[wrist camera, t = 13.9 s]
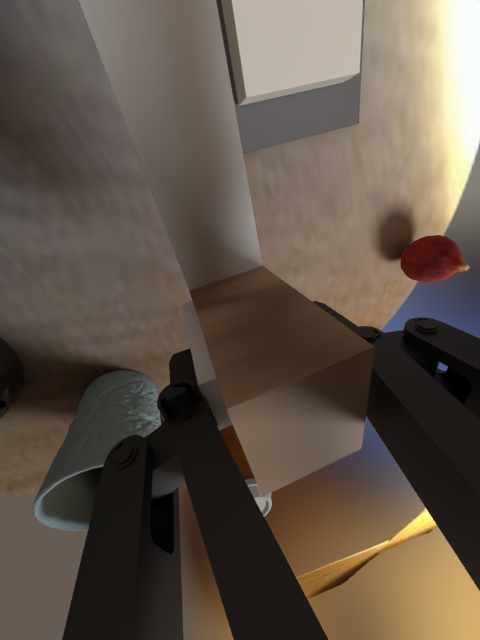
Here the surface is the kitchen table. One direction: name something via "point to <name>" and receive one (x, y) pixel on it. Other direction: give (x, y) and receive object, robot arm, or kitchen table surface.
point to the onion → (432, 259)
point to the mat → (295, 108)
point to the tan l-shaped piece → (230, 243)
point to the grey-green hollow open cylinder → (95, 446)
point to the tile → (291, 45)
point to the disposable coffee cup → (245, 468)
